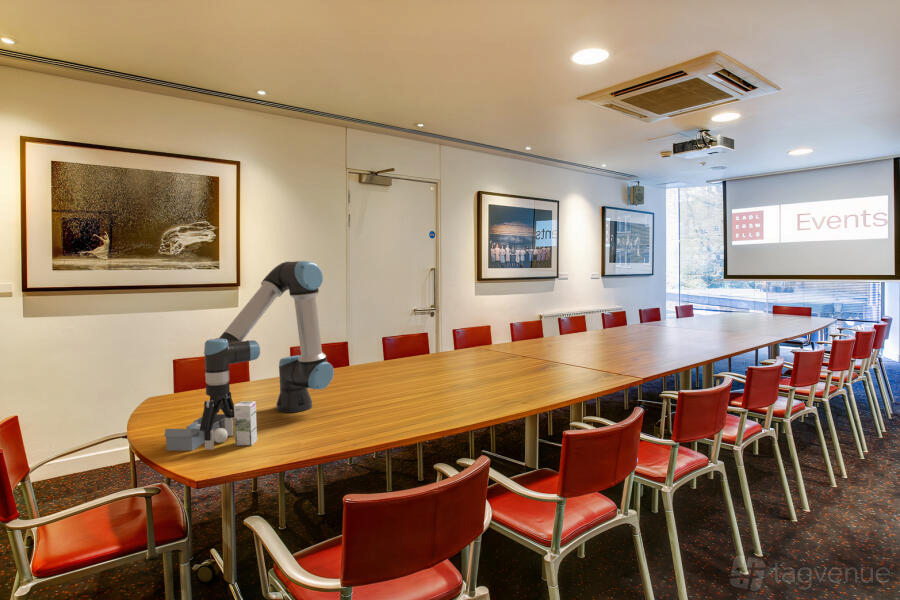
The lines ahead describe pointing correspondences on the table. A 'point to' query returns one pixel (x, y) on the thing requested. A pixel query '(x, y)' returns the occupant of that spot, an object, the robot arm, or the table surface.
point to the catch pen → (218, 418)
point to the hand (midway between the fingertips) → (219, 442)
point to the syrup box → (245, 423)
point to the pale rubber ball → (220, 435)
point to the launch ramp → (186, 437)
